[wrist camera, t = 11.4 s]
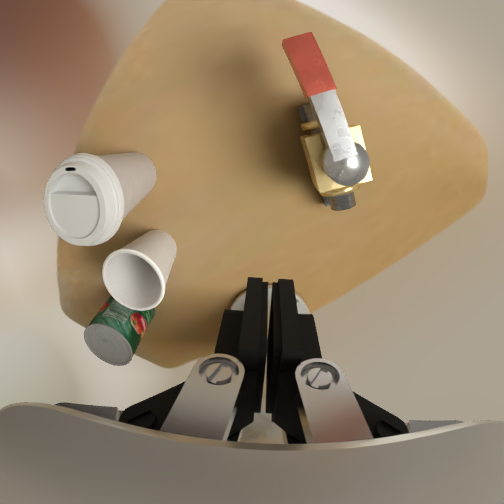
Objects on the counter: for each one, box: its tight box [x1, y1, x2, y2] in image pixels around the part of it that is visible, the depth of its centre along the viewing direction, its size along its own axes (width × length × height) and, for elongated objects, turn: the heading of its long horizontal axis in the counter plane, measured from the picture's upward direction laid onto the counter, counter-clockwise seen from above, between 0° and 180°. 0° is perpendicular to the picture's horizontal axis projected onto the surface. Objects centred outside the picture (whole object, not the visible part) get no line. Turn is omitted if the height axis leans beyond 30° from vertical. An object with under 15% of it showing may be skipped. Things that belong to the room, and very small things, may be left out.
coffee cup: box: [44, 152, 156, 246], centre depth 30 cm, size 10×10×15 cm
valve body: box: [298, 103, 372, 211], centre depth 31 cm, size 13×6×8 cm, turn 18°
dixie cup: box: [102, 230, 177, 311], centre depth 37 cm, size 8×8×10 cm
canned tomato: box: [84, 296, 156, 366], centre depth 41 cm, size 8×8×11 cm
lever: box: [282, 32, 370, 186], centre depth 24 cm, size 4×15×2 cm, turn 22°
